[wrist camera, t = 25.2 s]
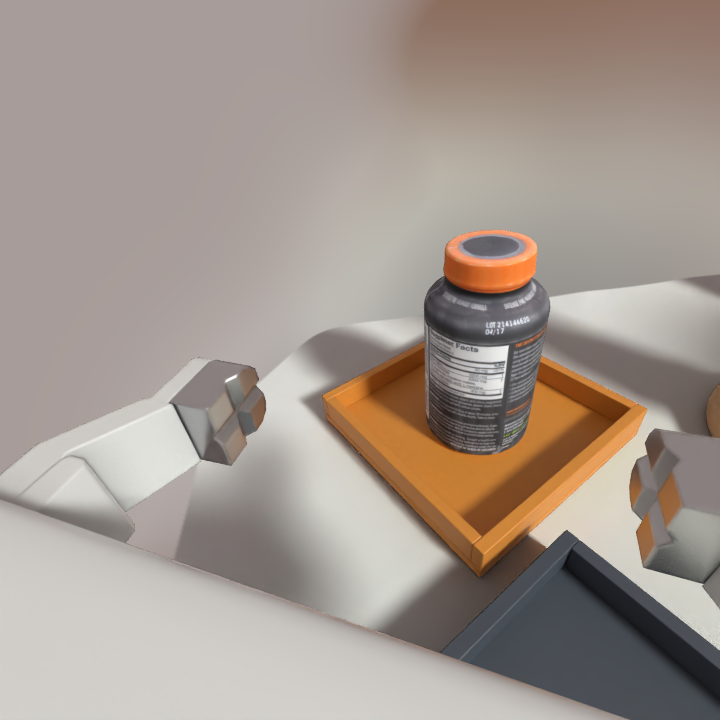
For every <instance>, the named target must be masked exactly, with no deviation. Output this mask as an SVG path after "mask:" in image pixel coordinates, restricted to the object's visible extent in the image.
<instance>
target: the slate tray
mask: <svg viewBox="0 0 720 720" xmlns="http://www.w3.org/2000/svg"><path fill="white" fill-rule="evenodd" d="M440 654H443V655H446V656H449V657H452V658H455V659H458V660H460V661H463V662H466V663H469V664H472V665H475V666H478V667H480V668H483V669H486V670H489V671H492V672H495V673H498V674H500V675H503V676H506V677H509V678H512V679H515V680H518V681H520V682H523V683H526V684H529V685H532V686H535V687H537V688H540V689H543V690H546V691H549V692H552V693H555V694H557V695H560V696H563V697H566V698H569V699H572V700H575V701H577V702H580V703H583V704H586V705H589V706H592V707H595V708H597V709H600V710H603V711H606V712H609V713H612V714H615V715H617V716H620V717H623V718H626V719H629V720H720V651H719V650H718V649H717V648H716V647H714V646H713V645H712V644H711V643H709V642H708V641H707V640H706V639H704V638H703V637H702V636H700V635H699V634H698V633H697V632H695V631H694V630H693V629H692V628H690V627H689V626H688V625H687V624H685V623H684V622H683V621H682V620H680V619H679V618H678V617H676V616H675V615H674V614H673V613H671V612H670V611H669V610H668V609H666V608H665V607H664V606H663V605H661V604H660V603H659V602H657V601H656V600H655V599H654V598H652V597H651V596H650V595H649V594H647V593H646V592H645V591H644V590H642V589H641V588H640V587H638V586H637V585H636V584H635V583H633V582H632V581H631V580H630V579H628V578H627V577H626V576H625V575H623V574H622V573H621V572H620V571H618V570H617V569H616V568H614V567H613V566H612V565H611V564H609V563H608V562H607V561H606V560H604V559H603V558H602V557H601V556H599V555H598V554H597V553H595V552H594V551H593V550H592V549H590V548H589V547H588V546H587V545H585V544H584V543H583V542H582V541H579V539H578V538H576V537H575V536H574V535H573V534H571V533H570V532H569V531H568V530H566V531H565V532H564V533H563V534H561V535H560V536H559V537H558V538H557V539H556V540H555V541H554V542H553V543H552V544H551V545H550V546H549V547H548V548H547V549H546V550H545V551H544V552H543V553H542V554H541V555H540V556H539V557H538V558H537V559H536V560H535V561H534V562H533V563H532V564H531V565H530V566H529V567H528V568H527V569H525V570H524V571H523V572H522V573H521V574H520V575H519V576H518V577H517V578H516V579H515V580H514V581H513V582H512V583H511V584H510V585H509V586H508V587H507V588H506V589H505V590H504V591H503V592H502V593H501V594H500V595H499V596H498V597H497V598H496V599H495V600H494V601H493V602H492V603H490V604H489V605H488V606H487V607H486V608H485V609H484V610H483V611H482V612H481V613H480V614H479V615H478V616H477V617H476V618H475V619H474V620H473V621H472V622H471V623H470V624H469V625H468V626H467V627H466V628H465V629H464V630H463V631H462V632H461V633H460V634H459V635H458V636H457V637H456V638H454V639H453V640H452V641H451V642H450V643H449V644H448V645H447V646H446V647H445V648H444V649H443V650H442V651H441V652H440Z"/></svg>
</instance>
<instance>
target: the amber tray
mask: <svg viewBox="0 0 720 720" xmlns="http://www.w3.org/2000/svg"><path fill="white" fill-rule="evenodd" d="M322 399H323V403H324V408H325V412H326V418H327V419H328V421H329V422H330V423H331V424H332V425H333V426H334V427H335V428H336V429H337V430H338V431H339V432H340V433H341V434H342V435H343V436H344V437H345V438H346V439H347V440H348V441H349V442H350V443H351V444H352V445H353V447H354V448H355V449H356V450H357V451H358V452H359V453H360V454H361V455H362V456H363V457H364V458H365V459H366V460H367V461H368V462H369V463H370V464H371V465H372V466H373V467H374V468H375V469H376V470H377V472H378V473H379V474H380V475H381V476H382V477H383V478H384V479H385V480H386V481H387V482H388V483H389V484H390V485H391V486H392V487H393V488H394V489H395V490H396V491H397V492H398V493H399V494H400V495H401V496H402V498H403V499H404V500H405V501H406V502H407V503H408V504H409V505H410V506H411V507H412V508H413V509H414V510H415V511H416V512H417V513H418V514H419V515H420V516H421V517H422V518H423V519H424V520H425V521H426V522H427V524H428V525H429V526H430V527H431V528H432V529H433V530H434V531H435V532H436V533H437V534H438V535H439V536H440V537H441V538H442V539H443V540H444V541H445V542H446V543H447V544H448V545H449V546H450V547H451V549H452V550H453V551H454V552H455V553H456V554H457V555H458V556H459V557H460V558H461V559H462V560H463V561H464V562H465V563H466V564H467V565H468V566H469V567H470V568H471V569H472V570H473V571H474V572H475V573H476V575H477V576H478V577H482V576H483V575H484V574H485V573H486V572H487V571H488V570H489V569H491V568H492V567H493V566H494V565H495V564H496V563H497V562H498V561H499V560H500V559H501V558H503V557H504V556H505V555H506V554H507V553H508V552H509V551H510V550H511V549H512V548H513V547H514V546H516V545H517V544H518V543H519V542H520V541H521V540H522V539H523V538H524V537H525V536H526V535H528V534H529V533H530V532H531V531H532V530H533V529H534V528H535V527H536V526H537V525H538V524H539V523H541V522H542V521H543V520H544V519H545V518H546V517H547V516H548V515H549V514H550V513H551V512H553V511H554V510H555V509H556V508H557V507H558V506H559V505H560V504H561V503H562V502H563V501H564V500H566V499H567V498H568V497H569V496H570V495H571V494H572V493H573V492H574V491H575V490H576V489H578V488H579V487H580V486H581V485H582V484H583V483H584V482H585V481H586V480H587V479H588V478H589V477H591V476H592V475H593V474H594V473H595V472H596V471H597V470H598V469H599V468H600V467H601V466H603V465H604V464H605V463H606V462H607V461H608V460H609V459H610V458H611V457H612V456H613V455H614V454H616V453H617V452H618V451H619V450H620V449H621V448H622V447H623V446H624V445H625V444H626V443H628V442H629V441H630V440H631V439H632V438H633V437H634V436H635V435H636V434H637V432H638V429H639V427H640V425H641V423H642V420H643V418H644V416H645V414H646V412H647V408H645V407H643V406H641V405H639V404H636V403H635V402H633V401H631V400H629V399H627V398H625V397H623V396H621V395H619V394H617V393H615V392H613V391H611V390H609V389H607V388H605V387H603V386H601V385H599V384H597V383H595V382H593V381H591V380H589V379H587V378H585V377H583V376H581V375H579V374H577V373H575V372H573V371H571V370H569V369H567V368H565V367H563V366H561V365H559V364H557V363H555V362H553V361H551V360H549V359H547V358H545V357H543V356H541V359H540V363H539V368H538V373H537V378H536V383H535V390H534V394H533V400H532V405H531V410H530V415H529V421H528V425H527V429H526V432H525V434H524V436H523V437H522V439H521V440H520V441H519V442H518V443H517V444H516V445H515V446H514V447H512V448H510V449H508V450H505V451H503V452H501V453H497V454H491V455H472V454H467V453H462V452H459V451H456V450H454V449H452V448H450V447H448V446H446V445H445V444H443V443H442V442H441V441H439V440H438V439H437V438H436V437H435V436H434V434H433V433H432V432H431V430H430V428H429V426H428V424H427V420H426V393H425V341H424V342H422V343H420V344H418V345H416V346H415V347H413V348H411V349H409V350H407V351H405V352H403V353H401V354H399V355H398V356H396V357H394V358H392V359H390V360H388V361H386V362H384V363H382V364H381V365H379V366H377V367H375V368H373V369H371V370H369V371H367V372H365V373H364V374H362V375H360V376H358V377H356V378H354V379H352V380H350V381H348V382H347V383H345V384H343V385H341V386H339V387H337V388H335V389H333V390H332V391H330V392H328V393H326V394H324V395H322Z"/></svg>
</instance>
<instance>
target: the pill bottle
mask: <svg viewBox="0 0 720 720" xmlns="http://www.w3.org/2000/svg"><path fill="white" fill-rule="evenodd" d="M536 256H537V245H536V243H535V242H534V241H533V240H532V239H531V238H529V237H527V236H525V235H523V234H520V233H516V232H511V231H503V230H483V231H475V232H469V233H466V234H462V235H460V236H457V237H455V238H453V239H452V240H451V241H449V243H447V245H446V248H445V263H444V275H445V276H443V277H442V278H440V279H439V280H437V281H436V282H435V283H434V284H433V285H432V286H431V288H430V289H429V291H428V293H427V295H426V298H425V303H424V333H425V393H426V420H427V424H428V426H429V428H430V430H431V432H432V433H433V434H434V436H435V437H436V438H437V439H438V440H439V441H441V442H442V443H443V444H445V445H446V446H448V447H450V448H452V449H454V450H456V451H459V452H462V453H467V454H472V455H491V454H497V453H501V452H503V451H505V450H508V449H510V448H512V447H514V446H515V445H516V444H517V443H518V442H519V441H520V440H521V439H522V437H523V436H524V434H525V432H526V429H527V425H528V421H529V415H530V410H531V405H532V400H533V394H534V390H535V383H536V378H537V373H538V368H539V363H540V359H541V353H542V347H543V342H544V337H545V332H546V327H547V322H548V317H549V312H550V301H549V297H548V294H547V292H546V290H545V289H544V288H543V286H542V285H541V284H540V283H539V282H538V281H537V280H535V279H533V278H532V276H533V275H534V273H535V270H536Z"/></svg>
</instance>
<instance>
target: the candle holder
mask: <svg viewBox="0 0 720 720" xmlns="http://www.w3.org/2000/svg"><path fill="white" fill-rule="evenodd" d="M706 418H707V425H708V428H709V430H710V433H711V435H712V437H717V438H720V384H719V385H718V386H717V387H716V388H715V389H714V391H713V393H712V394H711V396H710V398H709V400H708V405H707V410H706Z"/></svg>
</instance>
